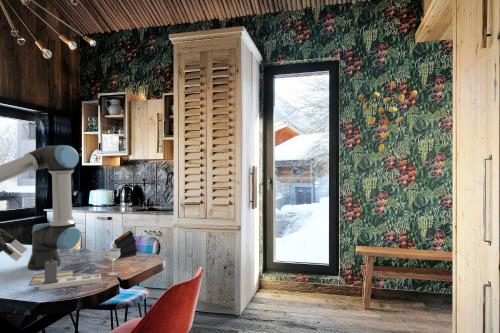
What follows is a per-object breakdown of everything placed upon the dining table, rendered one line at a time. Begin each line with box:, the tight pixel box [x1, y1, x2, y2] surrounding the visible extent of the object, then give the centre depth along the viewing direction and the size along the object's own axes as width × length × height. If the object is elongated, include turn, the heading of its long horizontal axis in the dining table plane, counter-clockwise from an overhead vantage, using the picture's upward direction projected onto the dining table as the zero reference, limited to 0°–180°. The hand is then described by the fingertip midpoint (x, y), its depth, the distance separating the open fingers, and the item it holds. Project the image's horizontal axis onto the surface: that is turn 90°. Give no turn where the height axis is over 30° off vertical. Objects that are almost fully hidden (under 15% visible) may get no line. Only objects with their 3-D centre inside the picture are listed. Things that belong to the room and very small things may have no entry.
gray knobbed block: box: [44, 260, 58, 284], centre depth 144 cm, size 4×4×11 cm
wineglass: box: [105, 247, 121, 276], centre depth 165 cm, size 7×7×12 cm
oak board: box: [30, 269, 74, 287], centre depth 156 cm, size 16×16×1 cm
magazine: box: [113, 230, 138, 259], centre depth 200 cm, size 4×13×15 cm, turn 140°
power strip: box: [38, 273, 102, 291], centre depth 148 cm, size 7×24×3 cm, turn 117°
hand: (22, 254), depth 140 cm, fingers open, 13 cm apart
